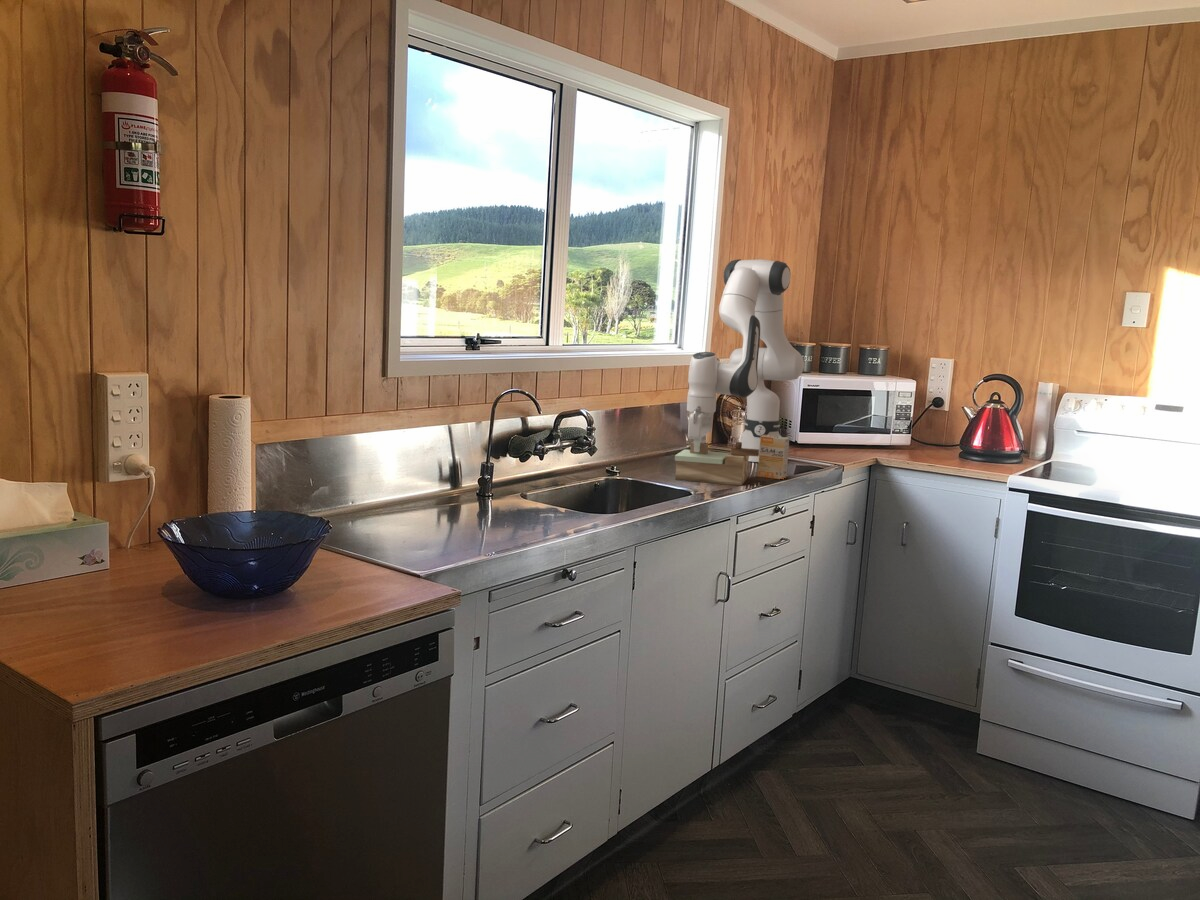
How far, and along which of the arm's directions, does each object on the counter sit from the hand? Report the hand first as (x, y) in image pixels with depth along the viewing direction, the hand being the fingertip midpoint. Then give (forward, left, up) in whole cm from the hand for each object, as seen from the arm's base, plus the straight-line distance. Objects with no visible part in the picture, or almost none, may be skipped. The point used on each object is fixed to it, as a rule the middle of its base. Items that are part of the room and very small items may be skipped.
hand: (699, 450), depth 296 cm
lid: (+2, +2, -2) cm, 3 cm away
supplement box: (-10, +22, -9) cm, 26 cm away
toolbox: (+2, +5, -8) cm, 10 cm away
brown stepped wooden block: (+4, +15, 0) cm, 15 cm away
